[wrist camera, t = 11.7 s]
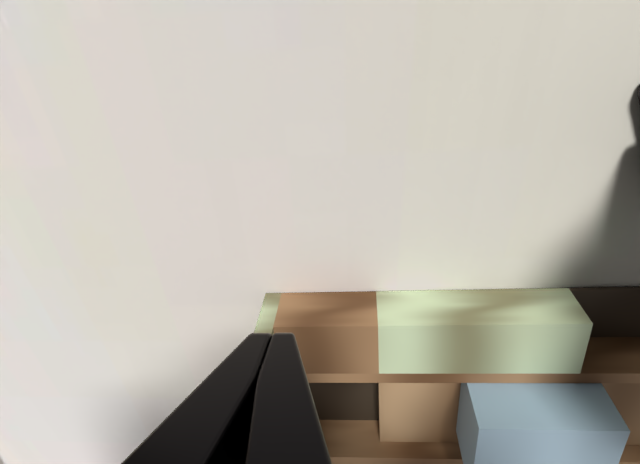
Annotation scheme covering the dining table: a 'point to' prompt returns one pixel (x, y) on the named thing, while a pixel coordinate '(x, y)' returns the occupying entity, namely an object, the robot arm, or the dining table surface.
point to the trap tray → (450, 359)
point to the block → (539, 424)
